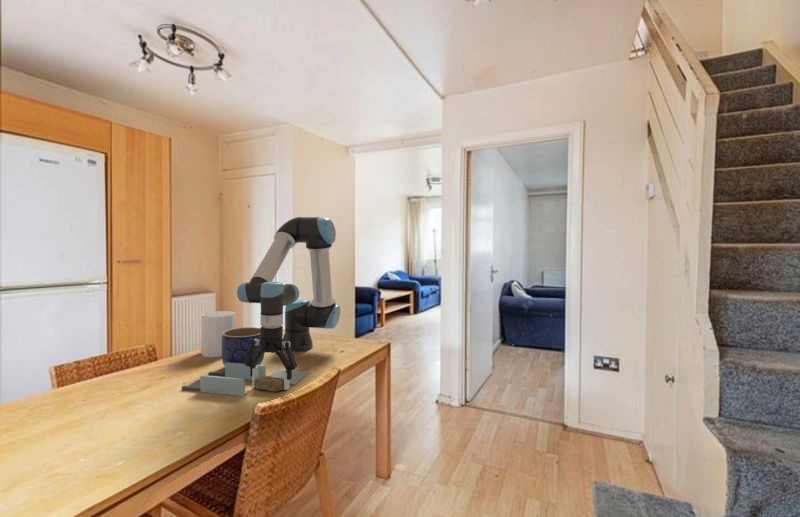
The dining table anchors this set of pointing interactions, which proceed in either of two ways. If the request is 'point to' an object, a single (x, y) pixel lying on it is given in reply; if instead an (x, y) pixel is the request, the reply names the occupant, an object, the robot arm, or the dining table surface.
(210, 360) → the dining table surface
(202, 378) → the trough
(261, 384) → the rock
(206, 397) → the dining table surface
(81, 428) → the dining table surface
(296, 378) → the pad
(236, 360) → the planter
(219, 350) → the container
